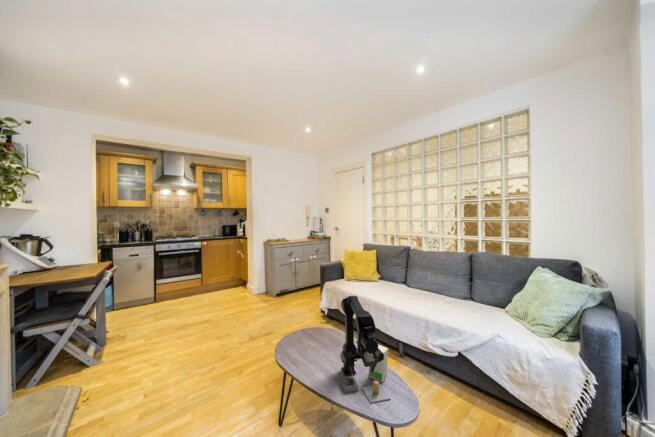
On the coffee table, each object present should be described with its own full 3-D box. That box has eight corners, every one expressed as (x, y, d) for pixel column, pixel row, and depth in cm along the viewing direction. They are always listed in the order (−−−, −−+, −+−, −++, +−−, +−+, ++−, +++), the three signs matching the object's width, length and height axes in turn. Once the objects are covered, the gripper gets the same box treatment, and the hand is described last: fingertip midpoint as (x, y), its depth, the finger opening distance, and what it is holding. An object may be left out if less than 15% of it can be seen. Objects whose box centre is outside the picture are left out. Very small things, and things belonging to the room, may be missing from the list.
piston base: (362, 388, 123) (362, 377, 123) (380, 385, 126) (380, 374, 126) (370, 403, 114) (370, 391, 114) (390, 399, 116) (390, 387, 116)
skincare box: (368, 376, 133) (368, 347, 133) (373, 370, 138) (373, 342, 138) (383, 382, 128) (383, 352, 128) (387, 376, 134) (388, 347, 133)
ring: (340, 383, 127) (340, 379, 127) (353, 381, 129) (353, 377, 129) (344, 393, 120) (344, 388, 120) (358, 390, 122) (358, 386, 122)
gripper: (350, 353, 104) (349, 389, 105) (390, 348, 109) (389, 382, 110) (342, 340, 115) (341, 372, 116) (378, 335, 120) (378, 367, 120)
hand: (362, 374), depth 115 cm, fingers open, 9 cm apart
